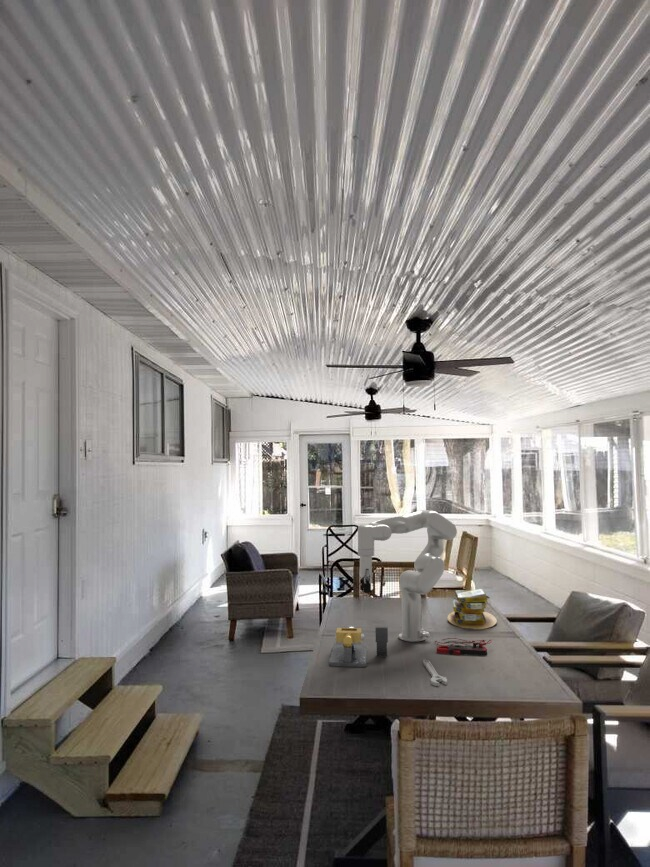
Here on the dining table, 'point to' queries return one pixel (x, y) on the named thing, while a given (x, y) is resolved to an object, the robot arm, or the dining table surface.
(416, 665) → the dining table surface
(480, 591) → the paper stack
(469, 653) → the digital clamp meter
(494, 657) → the dining table surface
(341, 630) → the multicoloured piece
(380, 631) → the wedge
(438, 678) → the adjustable wrench
